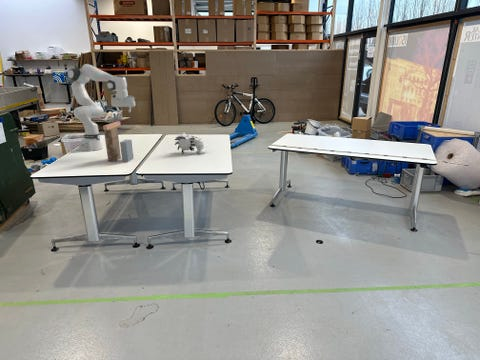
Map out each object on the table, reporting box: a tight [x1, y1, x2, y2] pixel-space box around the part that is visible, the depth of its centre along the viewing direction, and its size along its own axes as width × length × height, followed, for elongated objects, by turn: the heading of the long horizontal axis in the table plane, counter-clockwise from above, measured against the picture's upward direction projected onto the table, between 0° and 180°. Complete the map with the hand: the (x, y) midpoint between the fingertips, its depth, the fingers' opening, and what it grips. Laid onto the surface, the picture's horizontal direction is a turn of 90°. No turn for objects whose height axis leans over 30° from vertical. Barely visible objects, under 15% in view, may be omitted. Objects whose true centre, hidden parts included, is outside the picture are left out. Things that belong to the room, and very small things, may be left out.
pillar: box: [103, 126, 122, 162], centre depth 268 cm, size 6×10×26 cm, turn 172°
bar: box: [102, 121, 122, 131], centre depth 266 cm, size 3×22×3 cm, turn 172°
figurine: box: [174, 132, 210, 155], centre depth 292 cm, size 17×16×30 cm
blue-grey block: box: [119, 139, 135, 163], centre depth 268 cm, size 5×10×16 cm, turn 173°
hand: (124, 112), depth 285 cm, fingers open, 8 cm apart
